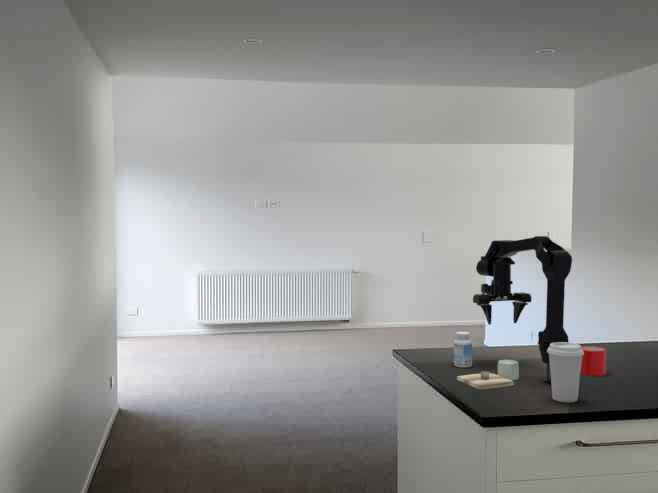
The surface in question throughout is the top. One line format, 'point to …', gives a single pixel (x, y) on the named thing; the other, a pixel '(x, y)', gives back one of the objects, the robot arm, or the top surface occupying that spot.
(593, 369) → the mug
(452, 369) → the top surface
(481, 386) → the holder
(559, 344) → the coffee cup
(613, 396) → the top surface
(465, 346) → the pill bottle
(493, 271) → the robot arm
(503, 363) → the cap
